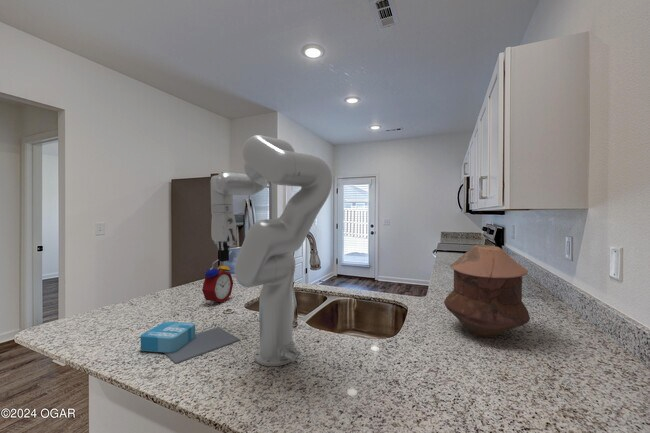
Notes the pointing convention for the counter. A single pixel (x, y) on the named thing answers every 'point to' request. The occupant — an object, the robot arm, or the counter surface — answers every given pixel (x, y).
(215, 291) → the alarm clock
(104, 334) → the counter surface
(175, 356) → the rubber mat
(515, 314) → the pottery vessel
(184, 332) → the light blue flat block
